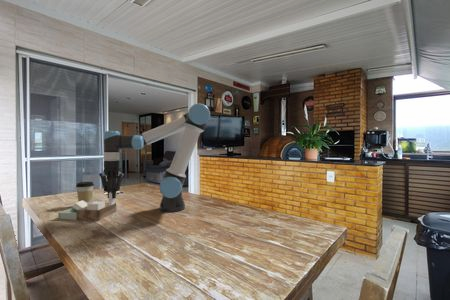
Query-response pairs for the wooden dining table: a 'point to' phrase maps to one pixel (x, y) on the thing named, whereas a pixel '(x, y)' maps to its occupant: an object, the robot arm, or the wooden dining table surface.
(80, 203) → the tile
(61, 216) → the tray
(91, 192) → the coffee cup
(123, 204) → the wooden dining table surface
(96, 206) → the tile
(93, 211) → the board
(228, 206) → the wooden dining table surface
